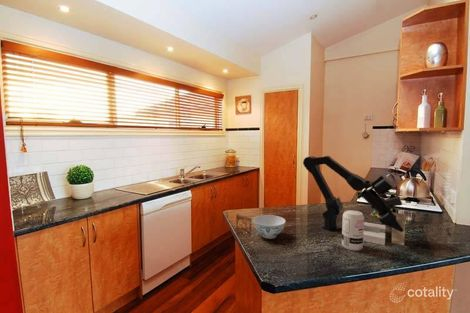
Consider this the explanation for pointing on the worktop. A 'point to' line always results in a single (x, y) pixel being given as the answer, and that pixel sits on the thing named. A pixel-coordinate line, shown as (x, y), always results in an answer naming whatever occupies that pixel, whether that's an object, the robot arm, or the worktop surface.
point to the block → (397, 235)
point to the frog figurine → (377, 212)
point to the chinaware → (269, 225)
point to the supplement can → (352, 230)
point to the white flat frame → (374, 233)
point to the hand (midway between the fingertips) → (402, 228)
